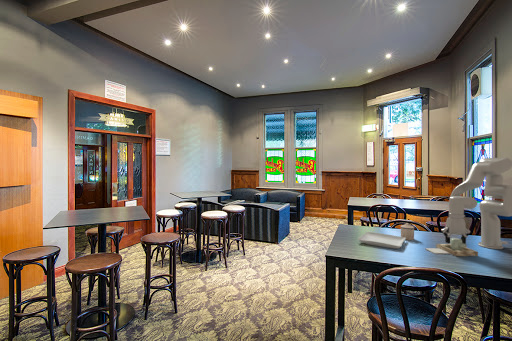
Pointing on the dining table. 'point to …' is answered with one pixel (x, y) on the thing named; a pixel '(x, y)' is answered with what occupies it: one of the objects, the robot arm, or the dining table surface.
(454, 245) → the jug
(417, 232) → the dining table surface
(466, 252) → the stand
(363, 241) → the square plate
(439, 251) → the pad
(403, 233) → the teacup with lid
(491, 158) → the robot arm
